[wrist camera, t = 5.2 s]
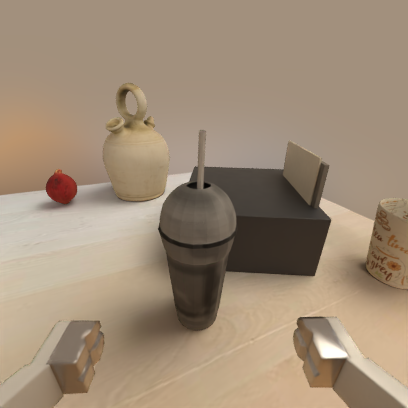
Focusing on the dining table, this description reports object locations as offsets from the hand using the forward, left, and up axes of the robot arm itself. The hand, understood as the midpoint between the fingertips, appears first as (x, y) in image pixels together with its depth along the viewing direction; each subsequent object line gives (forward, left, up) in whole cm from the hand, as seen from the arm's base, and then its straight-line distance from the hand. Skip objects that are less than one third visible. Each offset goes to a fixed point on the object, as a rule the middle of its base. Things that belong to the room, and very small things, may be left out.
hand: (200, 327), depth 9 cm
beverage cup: (-4, +11, -14) cm, 18 cm away
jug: (-30, +40, -14) cm, 52 cm away
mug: (+22, +26, -14) cm, 37 cm away
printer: (-2, +30, -13) cm, 33 cm away
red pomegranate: (-42, +28, -14) cm, 52 cm away
